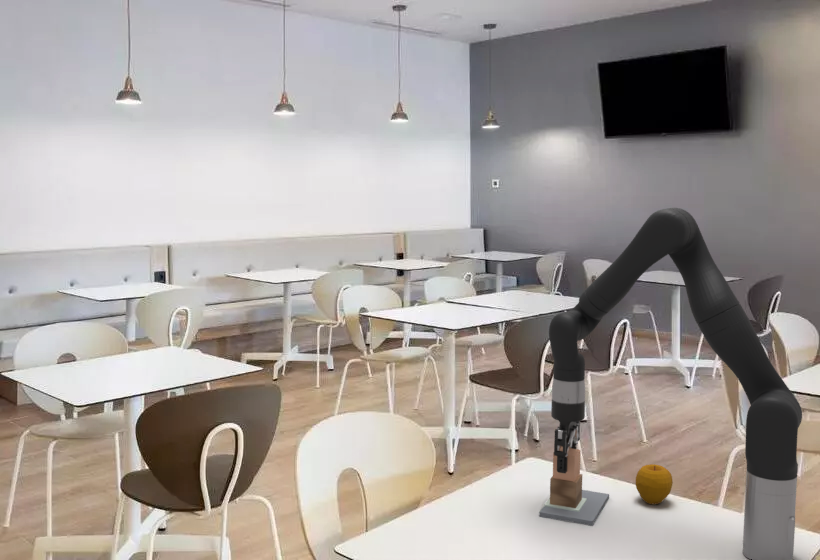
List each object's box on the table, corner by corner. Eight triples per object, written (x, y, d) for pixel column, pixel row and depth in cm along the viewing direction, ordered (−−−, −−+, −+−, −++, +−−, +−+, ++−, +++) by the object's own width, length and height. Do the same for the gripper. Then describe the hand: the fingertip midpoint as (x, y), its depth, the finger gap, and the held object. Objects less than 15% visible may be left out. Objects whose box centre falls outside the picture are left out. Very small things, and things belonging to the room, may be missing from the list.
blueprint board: (609, 498, 193) (609, 492, 193) (592, 525, 177) (592, 519, 177) (559, 490, 198) (559, 485, 198) (539, 516, 182) (539, 510, 182)
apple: (677, 509, 187) (679, 472, 186) (640, 509, 187) (642, 471, 186) (665, 495, 195) (667, 460, 194) (630, 495, 195) (631, 459, 194)
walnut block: (581, 499, 189) (582, 474, 188) (575, 508, 184) (576, 482, 183) (556, 495, 192) (557, 470, 191) (549, 504, 186) (550, 478, 185)
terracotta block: (579, 474, 188) (580, 449, 187) (574, 481, 184) (574, 455, 183) (558, 471, 190) (559, 446, 190) (552, 478, 186) (553, 452, 185)
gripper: (577, 407, 177) (575, 479, 179) (591, 392, 190) (589, 460, 192) (543, 403, 180) (542, 474, 182) (560, 389, 193) (558, 455, 195)
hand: (566, 466), depth 187 cm, fingers open, 8 cm apart
